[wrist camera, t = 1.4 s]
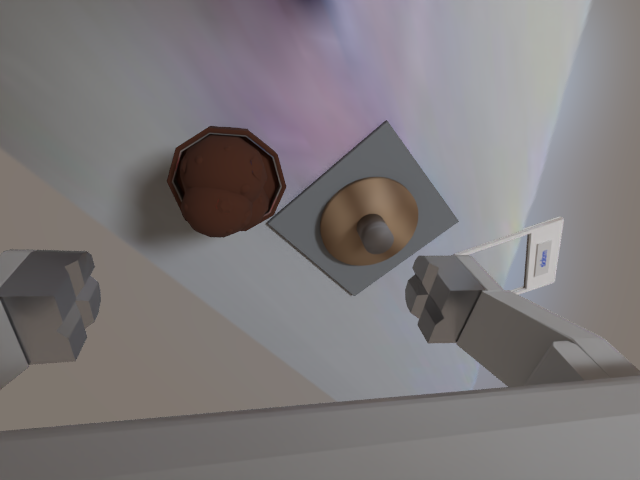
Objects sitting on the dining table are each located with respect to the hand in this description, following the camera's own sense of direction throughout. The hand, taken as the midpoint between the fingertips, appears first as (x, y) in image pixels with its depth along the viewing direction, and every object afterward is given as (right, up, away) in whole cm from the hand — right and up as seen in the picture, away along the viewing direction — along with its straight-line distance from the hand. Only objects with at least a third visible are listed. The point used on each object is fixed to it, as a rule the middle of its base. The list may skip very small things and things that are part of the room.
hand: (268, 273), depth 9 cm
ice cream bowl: (-9, +12, +33) cm, 36 cm away
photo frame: (+34, -4, +52) cm, 62 cm away
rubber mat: (+8, +4, +41) cm, 42 cm away
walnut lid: (+8, +3, +41) cm, 42 cm away
